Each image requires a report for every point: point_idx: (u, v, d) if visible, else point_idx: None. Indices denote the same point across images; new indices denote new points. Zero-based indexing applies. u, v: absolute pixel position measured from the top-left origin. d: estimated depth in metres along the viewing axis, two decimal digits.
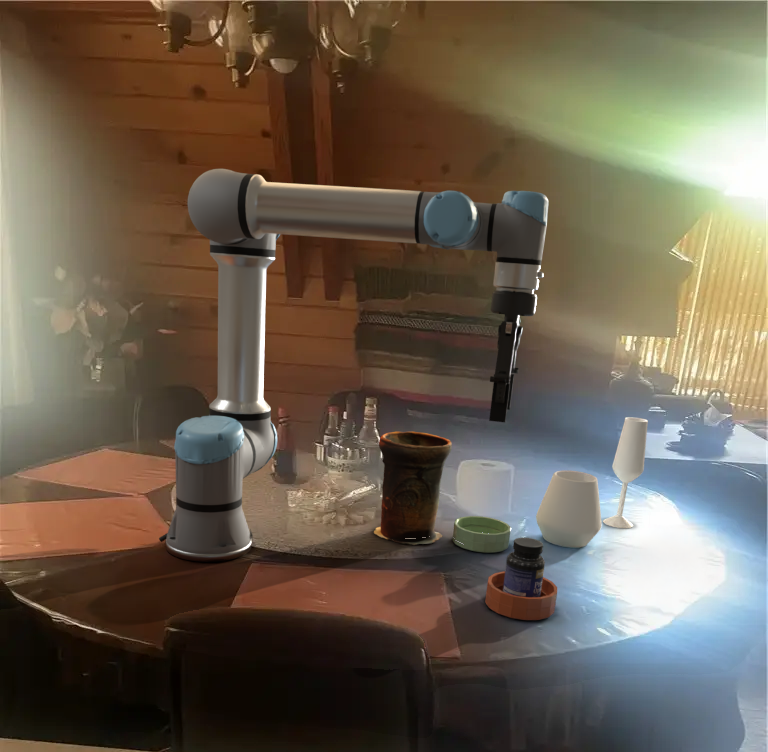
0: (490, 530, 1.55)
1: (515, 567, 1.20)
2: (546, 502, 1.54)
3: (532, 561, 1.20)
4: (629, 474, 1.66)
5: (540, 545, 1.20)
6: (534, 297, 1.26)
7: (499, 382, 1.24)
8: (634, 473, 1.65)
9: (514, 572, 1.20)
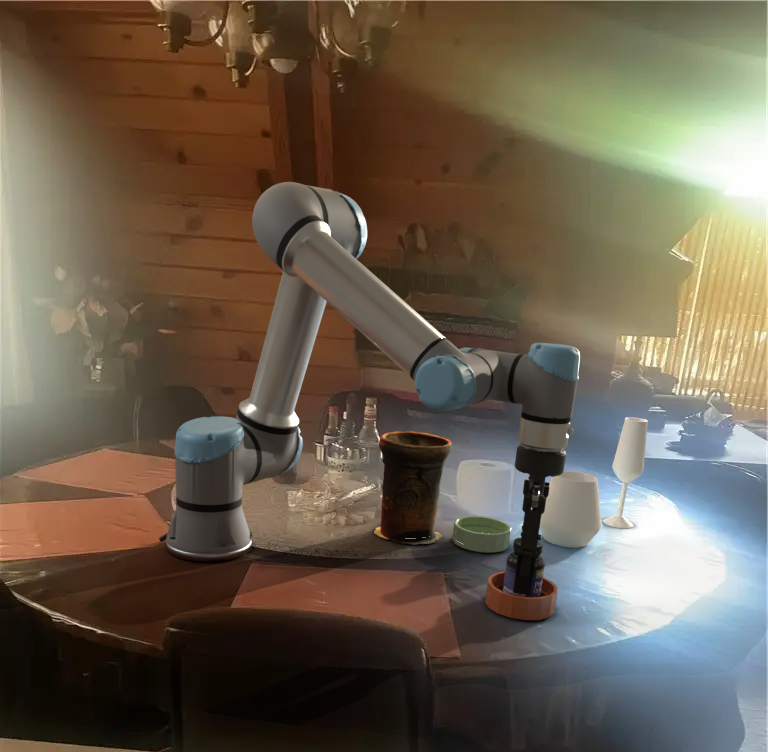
0: (490, 530, 1.55)
1: (515, 567, 1.20)
2: (546, 502, 1.54)
3: None
4: (629, 474, 1.66)
5: (540, 545, 1.20)
6: (563, 456, 1.14)
7: (524, 557, 1.16)
8: (634, 473, 1.65)
9: (514, 572, 1.20)
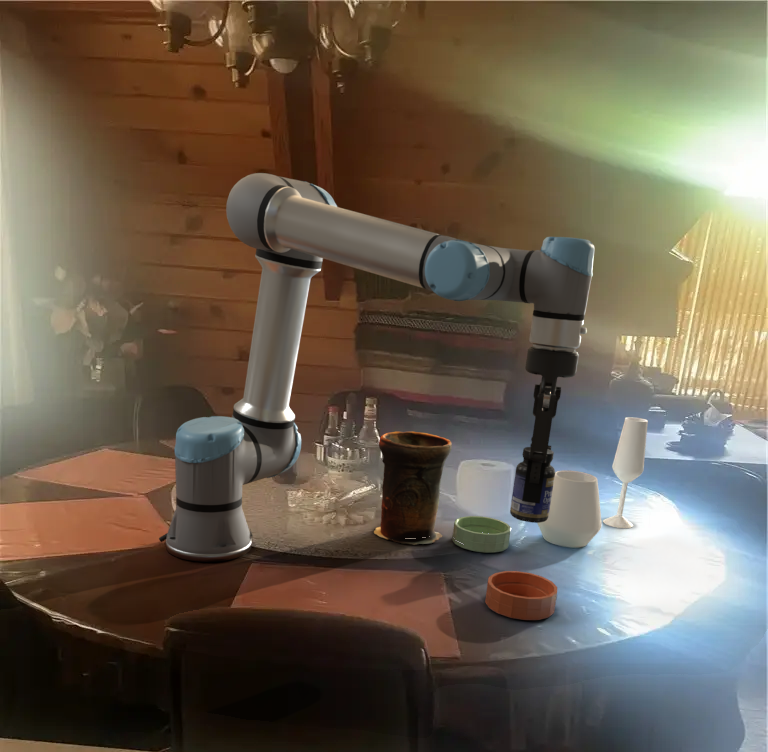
0: (490, 530, 1.55)
1: (525, 475, 1.16)
2: None
3: None
4: (629, 474, 1.66)
5: (551, 452, 1.16)
6: (576, 356, 1.11)
7: (534, 461, 1.13)
8: (634, 473, 1.65)
9: (524, 480, 1.17)
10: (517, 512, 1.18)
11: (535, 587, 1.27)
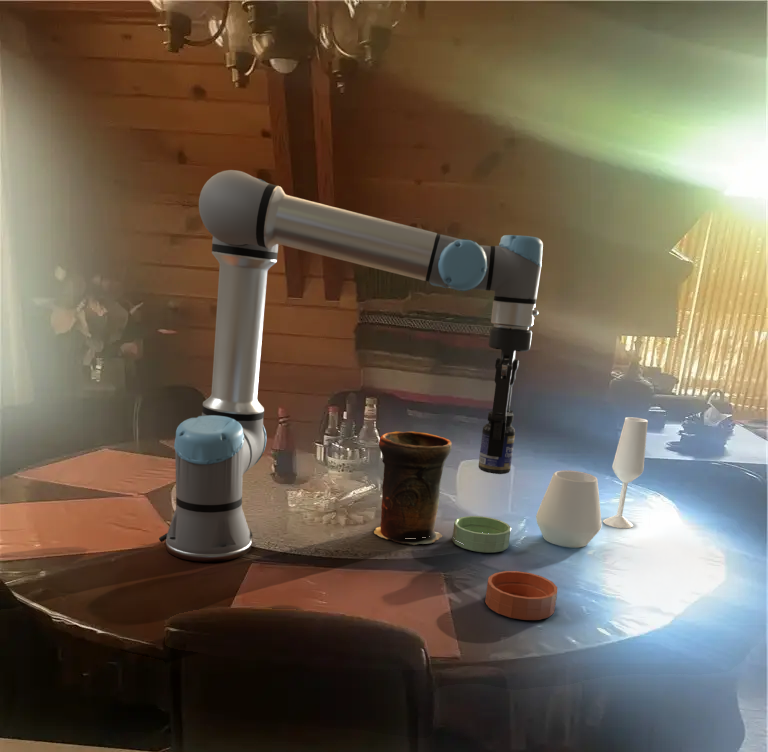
0: (490, 530, 1.55)
1: (489, 433, 1.40)
2: (546, 502, 1.54)
3: None
4: (629, 474, 1.66)
5: (511, 415, 1.40)
6: (529, 334, 1.34)
7: (496, 421, 1.36)
8: (634, 473, 1.65)
9: None
10: (484, 465, 1.42)
11: (535, 587, 1.27)
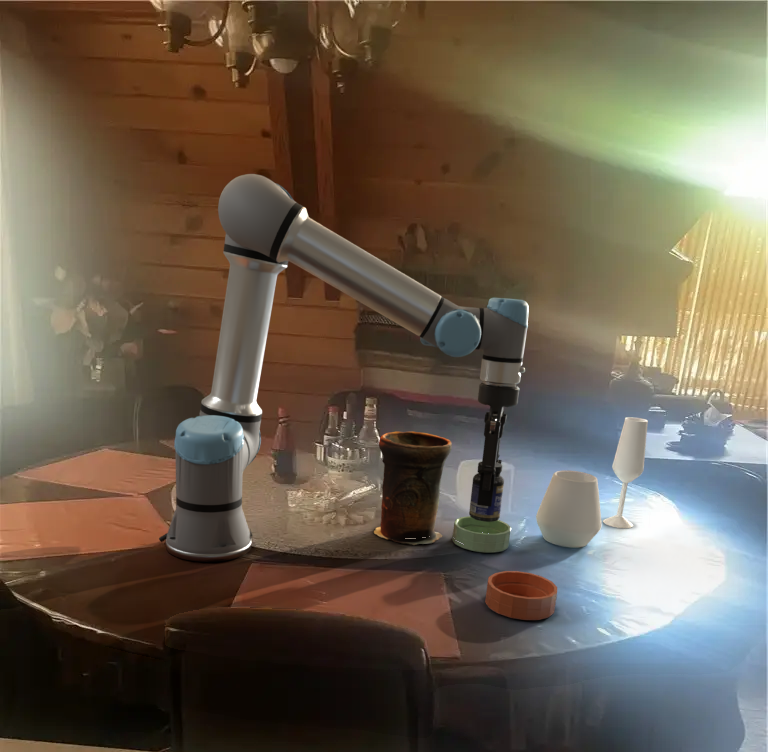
0: (490, 530, 1.55)
1: (479, 484, 1.46)
2: (546, 502, 1.54)
3: None
4: (629, 474, 1.66)
5: (499, 466, 1.46)
6: (516, 390, 1.41)
7: (485, 473, 1.43)
8: (634, 473, 1.65)
9: None
10: (474, 513, 1.48)
11: (535, 587, 1.27)
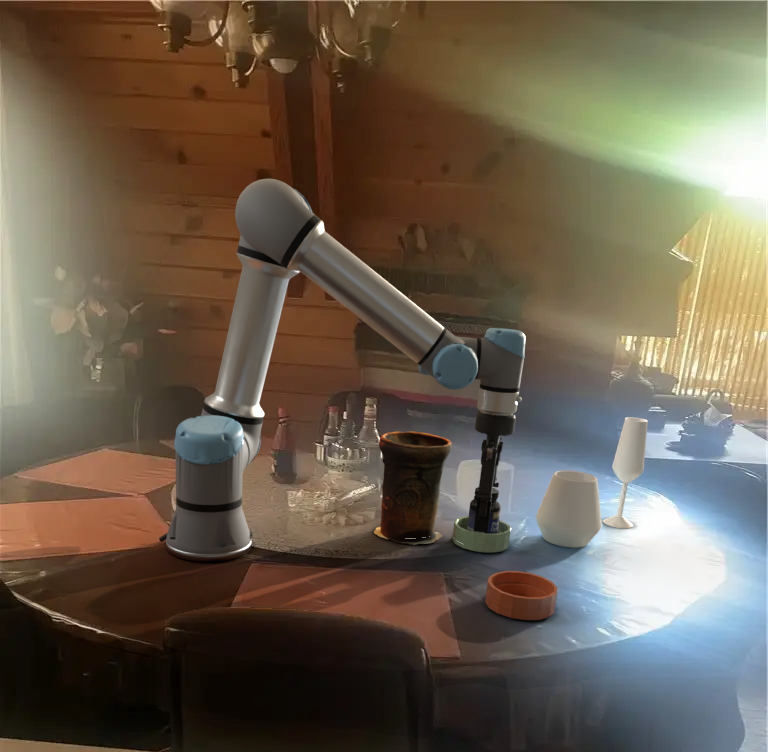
0: None
1: None
2: (546, 502, 1.54)
3: None
4: (629, 474, 1.66)
5: (496, 492, 1.48)
6: (513, 419, 1.42)
7: (482, 500, 1.43)
8: (634, 473, 1.65)
9: (475, 513, 1.48)
10: None
11: (535, 587, 1.27)
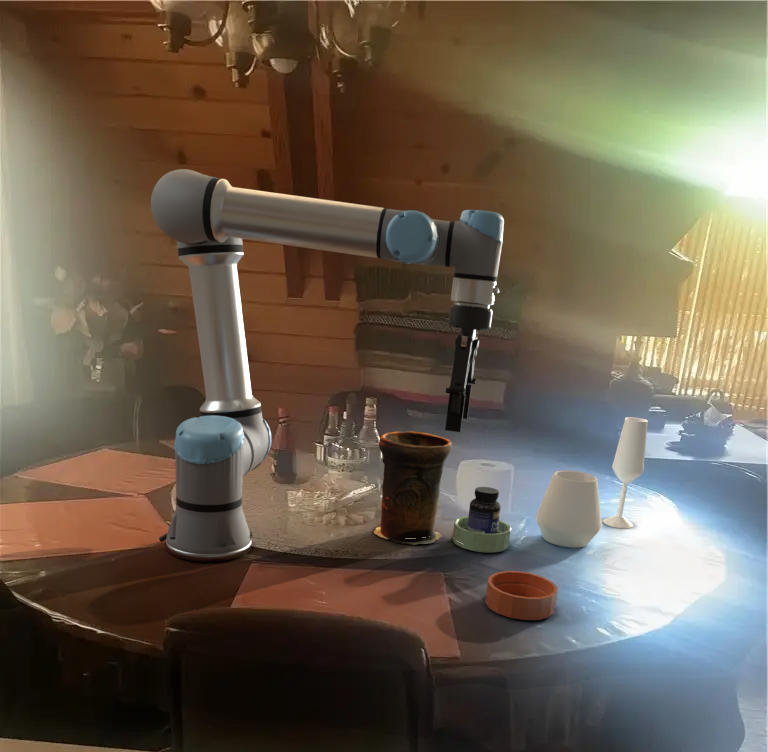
0: None
1: (476, 510, 1.48)
2: (546, 502, 1.54)
3: (490, 505, 1.47)
4: (629, 474, 1.66)
5: (496, 492, 1.48)
6: (489, 312, 1.31)
7: (454, 393, 1.29)
8: (634, 473, 1.65)
9: (475, 513, 1.48)
10: None
11: (535, 587, 1.27)
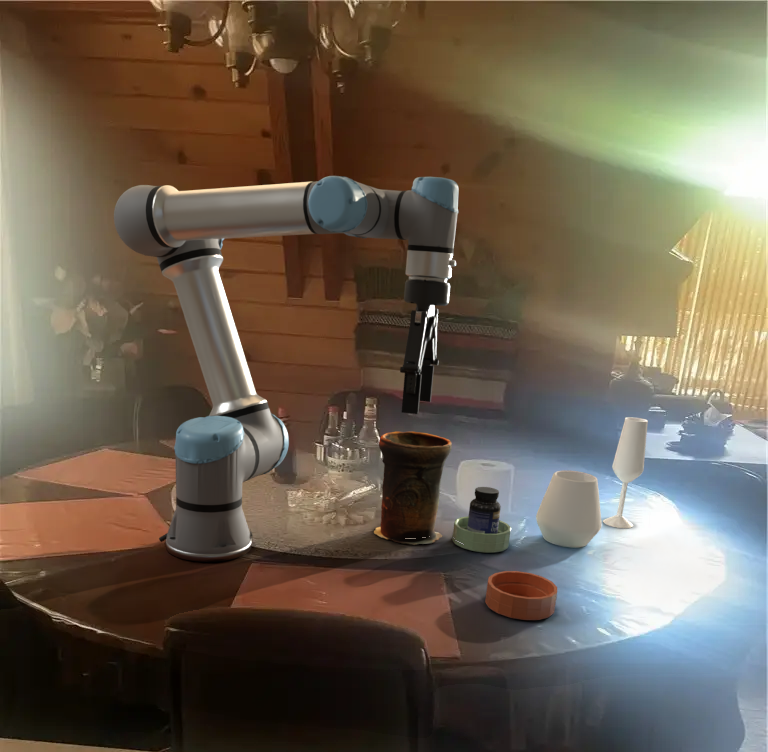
0: None
1: (476, 510, 1.48)
2: (546, 502, 1.54)
3: (490, 505, 1.47)
4: (629, 474, 1.66)
5: (496, 492, 1.48)
6: (446, 286, 1.23)
7: (409, 373, 1.22)
8: (634, 473, 1.65)
9: (475, 513, 1.48)
10: None
11: (535, 587, 1.27)
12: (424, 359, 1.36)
